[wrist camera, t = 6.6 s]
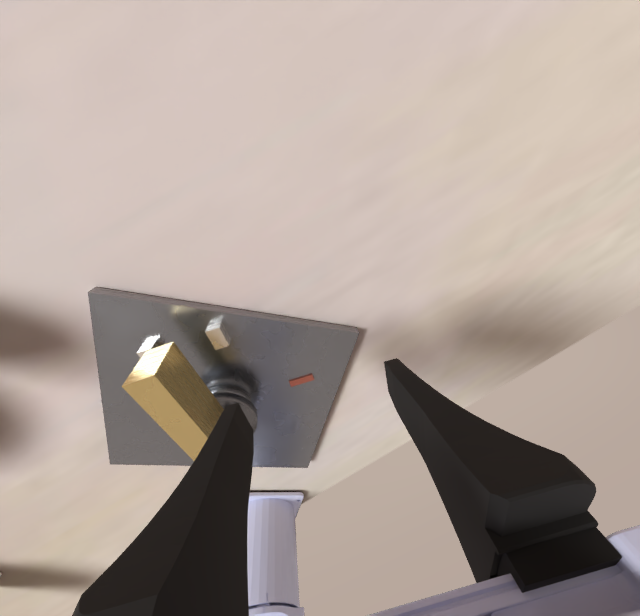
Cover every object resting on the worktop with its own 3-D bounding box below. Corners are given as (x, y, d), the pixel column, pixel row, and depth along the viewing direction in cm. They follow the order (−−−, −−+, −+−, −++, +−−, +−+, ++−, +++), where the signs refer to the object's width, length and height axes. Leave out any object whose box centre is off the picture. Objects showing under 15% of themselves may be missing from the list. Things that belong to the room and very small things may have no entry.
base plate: (306, 460, 29) (309, 480, 27) (114, 455, 24) (101, 479, 23) (356, 327, 22) (364, 342, 20) (95, 286, 17) (74, 301, 15)
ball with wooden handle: (267, 426, 22) (266, 472, 19) (209, 446, 22) (197, 495, 19) (202, 325, 17) (185, 364, 14) (126, 351, 17) (90, 397, 14)
